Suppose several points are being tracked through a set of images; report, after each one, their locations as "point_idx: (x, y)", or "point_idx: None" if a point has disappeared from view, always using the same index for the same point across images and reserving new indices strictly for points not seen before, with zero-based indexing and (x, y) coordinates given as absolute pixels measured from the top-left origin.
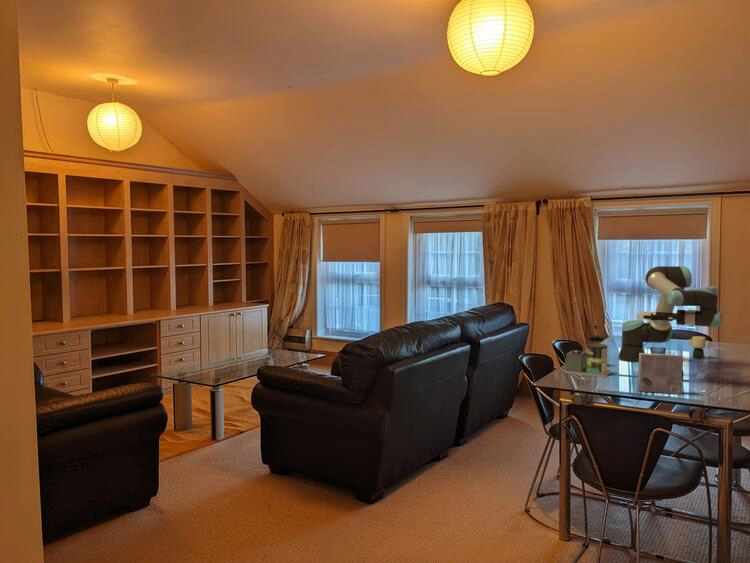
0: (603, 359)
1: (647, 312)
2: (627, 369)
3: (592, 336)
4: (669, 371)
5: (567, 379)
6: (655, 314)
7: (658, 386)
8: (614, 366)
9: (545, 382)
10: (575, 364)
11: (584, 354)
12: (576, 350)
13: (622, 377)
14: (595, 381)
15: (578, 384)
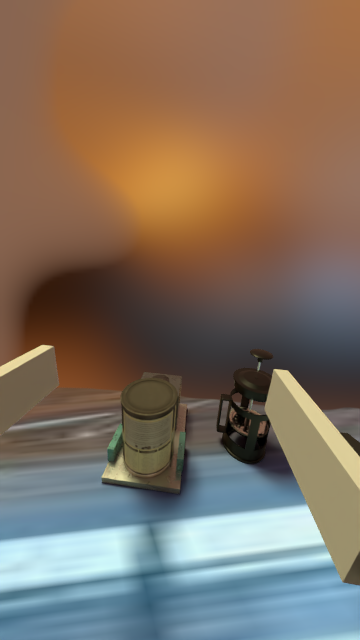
0: (127, 439)
1: (293, 409)
2: (274, 549)
3: (243, 374)
4: None
5: (72, 412)
6: (353, 542)
7: None
8: (285, 492)
9: None
10: None
11: None
12: (166, 379)
13: (113, 544)
14: (46, 464)
15: (14, 433)
